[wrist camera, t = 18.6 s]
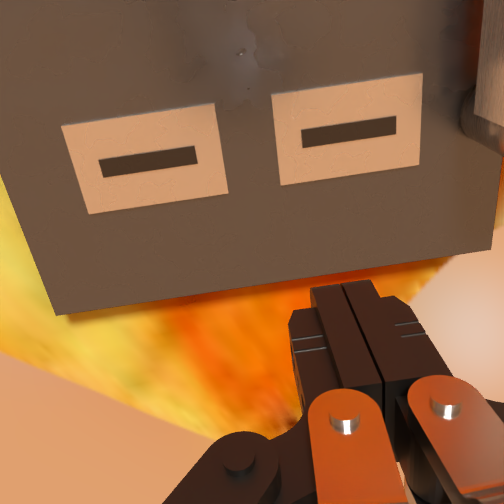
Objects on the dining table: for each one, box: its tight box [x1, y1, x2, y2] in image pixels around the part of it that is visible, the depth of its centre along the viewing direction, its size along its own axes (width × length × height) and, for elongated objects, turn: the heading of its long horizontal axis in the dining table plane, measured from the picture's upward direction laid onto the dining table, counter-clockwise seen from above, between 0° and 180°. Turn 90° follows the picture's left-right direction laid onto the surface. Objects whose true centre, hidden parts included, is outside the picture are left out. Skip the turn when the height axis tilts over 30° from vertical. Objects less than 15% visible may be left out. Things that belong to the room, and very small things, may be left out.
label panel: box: [0, 0, 503, 316], centre depth 27 cm, size 28×18×2 cm, turn 97°
